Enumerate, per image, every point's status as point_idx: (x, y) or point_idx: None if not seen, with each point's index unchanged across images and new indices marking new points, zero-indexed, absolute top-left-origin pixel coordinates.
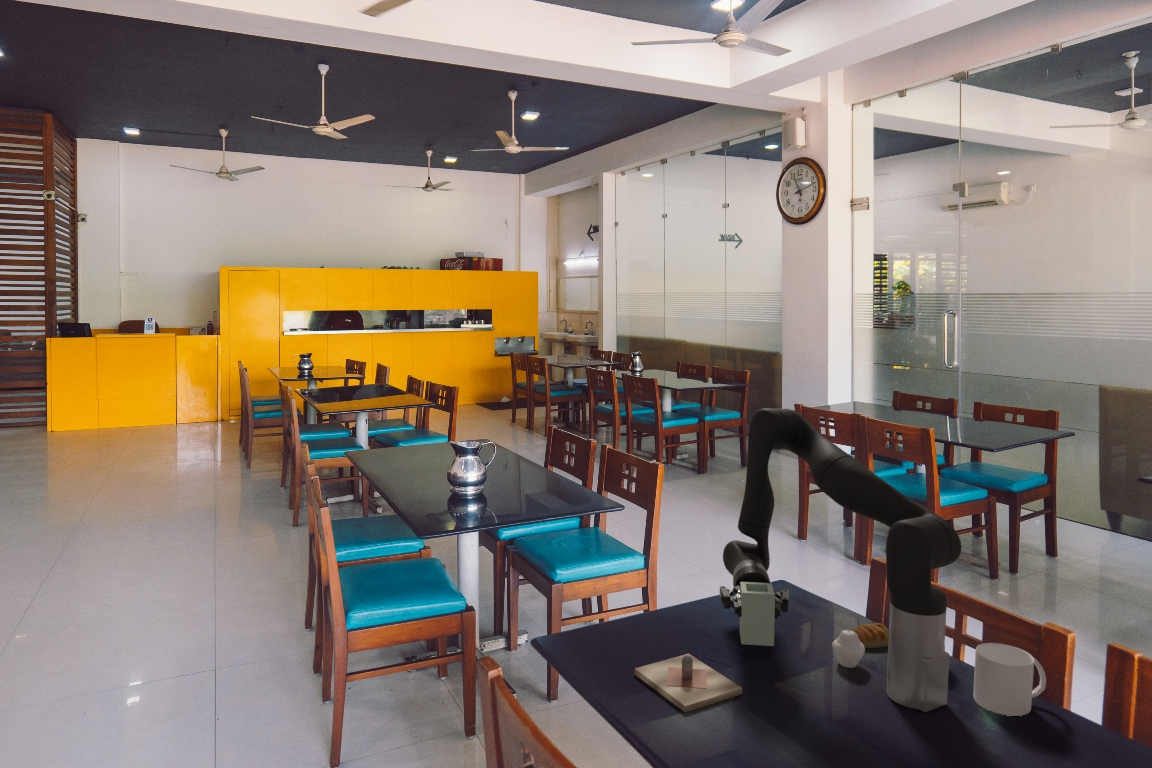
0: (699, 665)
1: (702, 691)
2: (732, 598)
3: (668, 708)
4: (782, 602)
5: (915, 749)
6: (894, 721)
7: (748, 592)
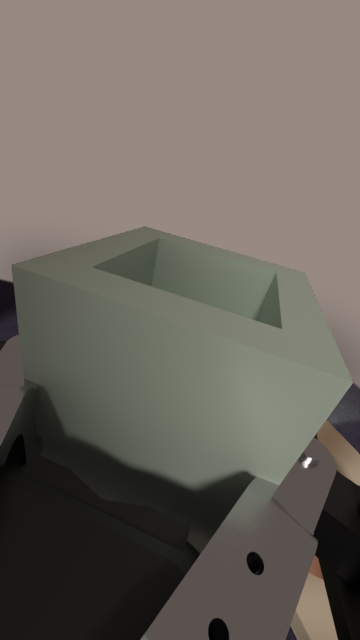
0: (328, 627)
1: None
2: (337, 505)
3: (349, 443)
4: (2, 341)
5: None
6: (8, 328)
7: (269, 265)
